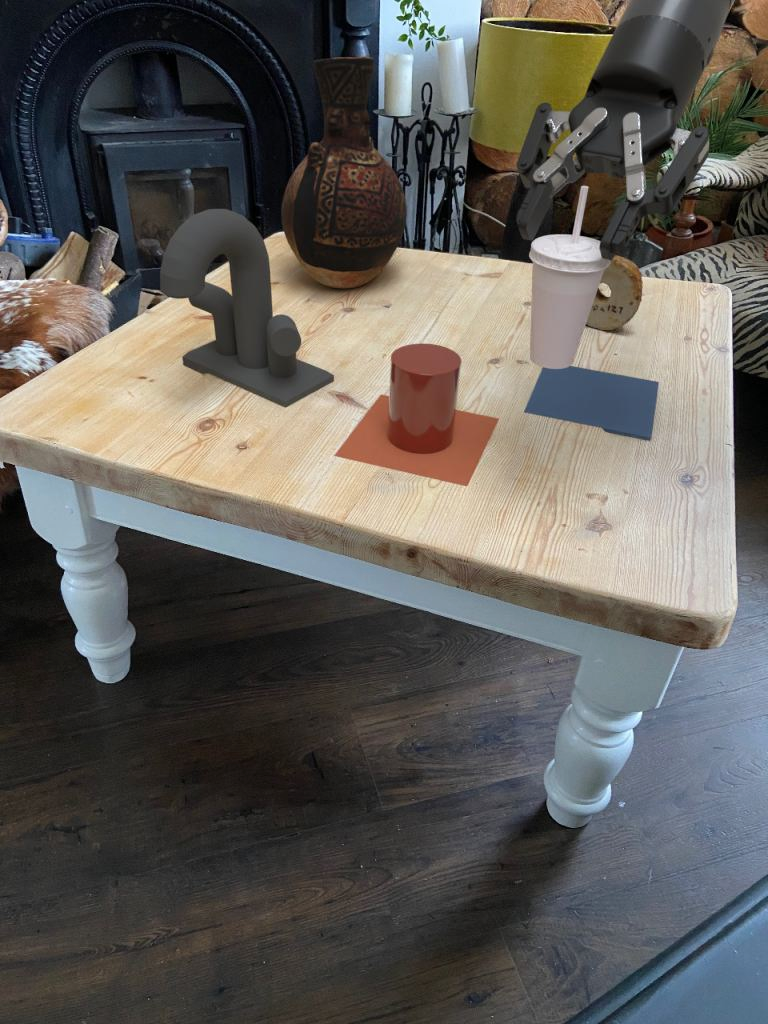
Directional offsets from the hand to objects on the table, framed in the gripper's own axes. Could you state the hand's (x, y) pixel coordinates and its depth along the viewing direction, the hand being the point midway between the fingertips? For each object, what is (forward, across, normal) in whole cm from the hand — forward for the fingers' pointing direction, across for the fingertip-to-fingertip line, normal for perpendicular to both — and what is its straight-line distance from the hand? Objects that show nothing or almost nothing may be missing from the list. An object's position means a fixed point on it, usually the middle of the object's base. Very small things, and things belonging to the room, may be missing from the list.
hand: (564, 243), depth 57 cm
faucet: (+18, -37, +16) cm, 44 cm away
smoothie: (+6, 0, +9) cm, 11 cm away
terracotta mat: (+15, -13, +19) cm, 28 cm away
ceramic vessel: (-6, -49, +41) cm, 64 cm away
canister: (+15, -13, +18) cm, 27 cm away
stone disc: (-13, -11, +48) cm, 51 cm away
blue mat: (+1, -2, +33) cm, 33 cm away
